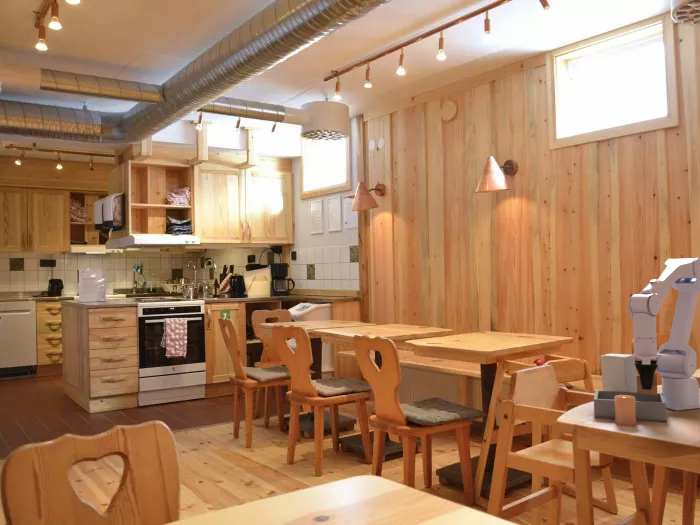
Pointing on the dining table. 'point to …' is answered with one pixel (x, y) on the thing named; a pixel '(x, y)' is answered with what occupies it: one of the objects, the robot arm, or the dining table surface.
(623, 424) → the terracotta cylinder
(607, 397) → the tote
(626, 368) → the skincare box
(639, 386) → the walnut block
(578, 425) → the dining table surface
